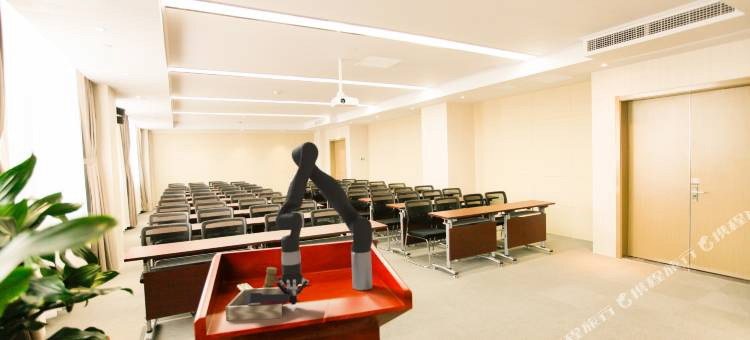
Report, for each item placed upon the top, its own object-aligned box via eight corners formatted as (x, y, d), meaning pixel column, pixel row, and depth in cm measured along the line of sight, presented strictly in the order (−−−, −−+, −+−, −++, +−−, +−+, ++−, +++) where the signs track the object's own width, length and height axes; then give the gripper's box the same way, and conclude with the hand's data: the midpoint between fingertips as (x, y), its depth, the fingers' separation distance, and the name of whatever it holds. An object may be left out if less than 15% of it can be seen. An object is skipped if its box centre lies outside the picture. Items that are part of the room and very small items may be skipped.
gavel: (306, 291, 182) (310, 270, 183) (308, 294, 178) (312, 273, 179) (262, 288, 174) (266, 266, 175) (263, 291, 170) (267, 268, 171)
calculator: (280, 306, 155) (243, 308, 148) (280, 295, 157) (243, 296, 149) (289, 303, 147) (249, 305, 139) (289, 292, 148) (250, 293, 141)
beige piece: (292, 298, 163) (291, 286, 162) (281, 317, 143) (280, 304, 142) (243, 300, 162) (243, 288, 162) (226, 320, 142) (225, 307, 142)
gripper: (309, 258, 155) (311, 299, 156) (277, 259, 155) (279, 301, 156) (306, 263, 148) (308, 306, 149) (272, 265, 148) (274, 308, 148)
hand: (293, 303), depth 152 cm, fingers closed
